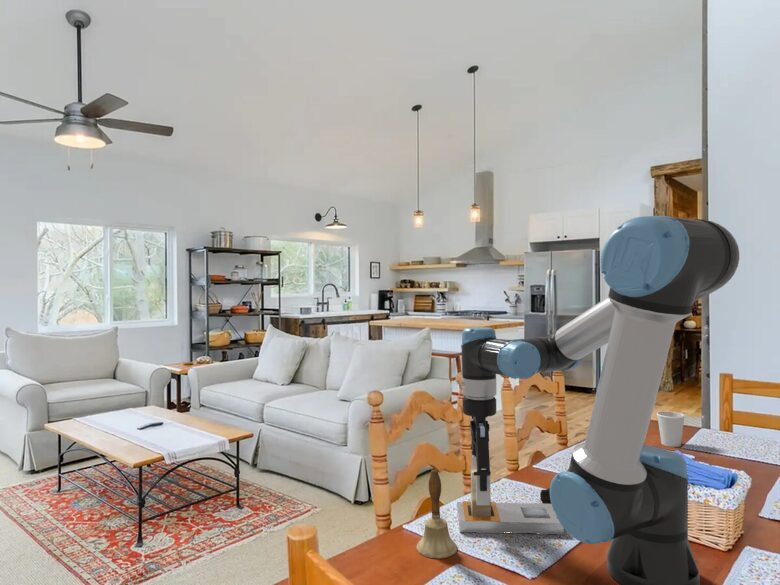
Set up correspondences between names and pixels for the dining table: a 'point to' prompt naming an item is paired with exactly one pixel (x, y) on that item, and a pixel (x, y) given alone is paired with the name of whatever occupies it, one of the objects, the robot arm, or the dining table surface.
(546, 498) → the hand tool
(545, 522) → the grey board
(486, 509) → the peg
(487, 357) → the robot arm
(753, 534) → the dining table surface
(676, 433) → the dixie cup
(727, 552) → the dining table surface
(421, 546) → the hand bell
